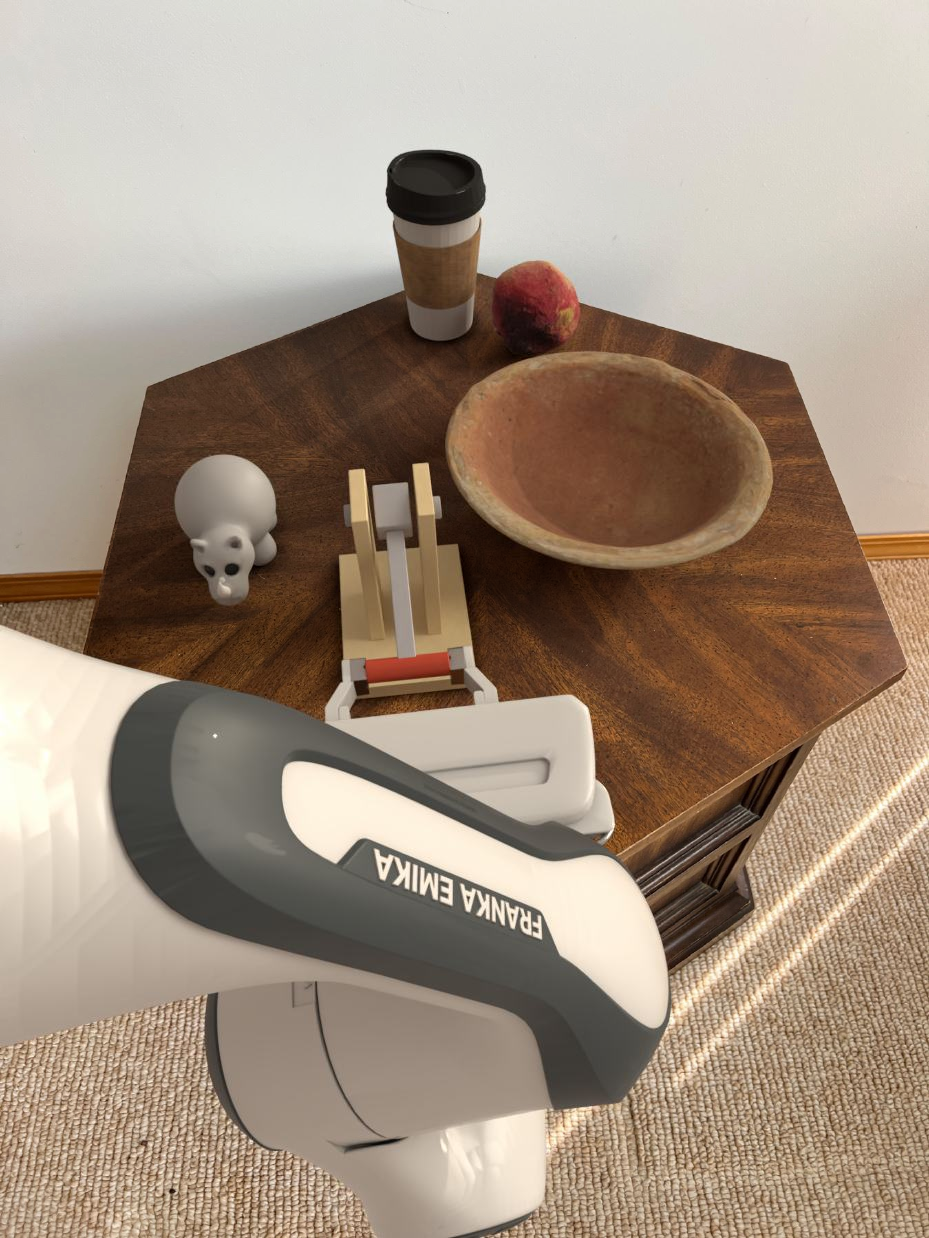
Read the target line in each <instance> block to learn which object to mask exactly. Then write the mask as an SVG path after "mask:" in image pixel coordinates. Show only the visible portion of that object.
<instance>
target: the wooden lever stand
mask: <svg viewBox="0 0 929 1238" xmlns="http://www.w3.org/2000/svg"><path fill="white" fill-rule="evenodd" d="M411 465H412V478H413V488H414V500H415V513H416V521H417V522H416V524H417V535H418V536H417V537H418V547H410V548H409V547H408V548H405V550H406V560H407V570H408V580H409V590H410V600H411V610H412V620H413V630H414V641H415V651H416V655H420V654H430V653H439V652H447V648H454V647H462V646H471V649H472V655H473V662H474V668H475V667H476V662H475V654H474V649H473V640H472V633H471V627H470V619H469V613H468V612H469V611H468V604H467V599H466V591H465V584H464V577H463V571H462V563H461V556H460V549H459V544H458V543H452V544H440V545H438V544H437V531H436V529H437V528H436V520H440V519H442V517H443V515H442V514H443V513H442V504H441V496H440V495H435V496H433V490H432V489H433V488H432V483H431V474H430V466H429V462H422V463H412V464H411ZM347 474H348V488H349V489H348V490H349V504H343V516H344V524H345V527H346V528H351V530H352V536H353V541H354V547H355V553H348V554H339V555H338V565H339V591H340V611H341V612H340V613H341V634H342V635H341V636H342V638H341V639H342V657H343V658H342V660H346V659H357V658H366V660H370V659H380V658H390V657H397V646H396V635H395V625H394V614H393V604H392V593H391V582H390V572H389V561H388V550H380V551H379V550H378V551H377V549H376V541H375V535H374V526H373V522H372V521H373V520H372V514H371V512H372V511H371V506H370V500H369V499H370V498H369V492H368V485H367V479H366V471H365V469H364V468H358V469H349V470H348V473H347ZM369 689H370V694H368V695H361V696H357V697H356V699H355V700H361V699H362V700H363V699H371V698H373V699H374V698H382V697H392V696H393V697H394V696H400V695H401V696H402V695H411V694H420V693H421V694H422V693H430V692H440V691H441V692H442V691H449V690H458V689H459V690H461V689H468V688H467V687H466V686H465V685H464V684H458V685H451V681H450V675H449V676H440V677H430V678H421V679H411V680H401V681H392V682H382V683H372V684H369Z"/></svg>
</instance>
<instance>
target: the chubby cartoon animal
mask: <svg viewBox="0 0 929 1238" xmlns="http://www.w3.org/2000/svg"><path fill="white" fill-rule="evenodd" d="M276 502H277V501H276V495H275V491H274V488H273V485H272V483H271V481H270V479H269V477H268V476H267V475H266V474H265V473H264V472H263V471H262V469H261V468H260V467H258V466H257V465H256V464H254V463H253V462H252V461H250V460H248V459H246V458H244V457H241V456H237V455H234V454H233V455H232V454H214V455H210V456H207V457H204V458H202V459H200V460H198V461H197V462H195V463H194V464H192V465H191V466H190V467H189V468H188V469H186V471H185V472H184V473H183V475H182V476H181V478H180V479H179V481H178V483H177V486H176V489H175V494H174V511H175V515H176V519H177V522H178V524H179V526H180V528H181V530H182V531H183V532H184V534H185V535H186V536H187V537H188V538H189V539H190V540H189V543H190V546H191V548H192V549H193V551H192V553H193V555H192V556H193V557H192V558H193V563H194V567H195V568H196V570H197V571H198V572H199V574H201V575H202V576H203V577H204V578H205V580H206V581H207V583H208V589H209V594H210V596H211V598H212V599H213V601H215V602H216V603H218V605H219V604H220V605H222V606H225V607H233V606H236V605H239V604H241V603H242V602H243V601H245V599H246V598H247V596H248V594H249V590H250V585H249V574H250V572H251V571H252V568H253V566H258V567H260V566H265V565H267V564H268V563H270V562H271V561H272V560H273V559H274V558H275V557H276V555H277V544H276V542H275V540H274V538H273V536H272V535H271V534H270V532H271V531H273V529H275V527H276V525H277V523H278V516H277V513H276V511H277V503H276Z"/></svg>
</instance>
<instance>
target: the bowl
mask: <svg viewBox="0 0 929 1238" xmlns="http://www.w3.org/2000/svg"><path fill="white" fill-rule="evenodd" d="M444 443H445V446H444V447H445V457H446V462H447V465H448V469H449V472H450V475H451V478H452V480H453V482H454V484H455V486H456V488H457V489H458V491H459V493H460V494H461V496H462V497H463V499H464V500H465V501H466V503H467V504H468V505H469V506H470V507H471V508H472V509H473V510H474V511H475V512H476V513H477V514H478V516H479V517H481V518H482V519H483V520H484V521H485V522H486V523H487V524H488V525H490V526H491V527H492V528H494V529H496V530H497V531H498V532H500V533H501V534H503V535H505V536H506V537H508V538H509V539H511V540H512V541H514V542H516V543H518V544H520V545H521V546H524V547H526V548H528V549H531V550H532V551H535V552H537V553H541V554H543V555H545V556H548V557H551V558H554V559H556V560H560V561H563V562H566V563H571V564H575V565H580V566H585V567H591V568H598V569H607V570H633V571H634V570H638V571H639V570H648V569H657V568H663V567H669V566H675V565H680V564H684V563H687V562H690V561H694V560H697V559H700V558H703V557H705V556H708V555H710V554H712V553H716V552H718V551H720V550H722V549H724V548H727V547H729V546H732V545H734V544H736V543H737V542H738V541H740V540H741V539H742V538H743V537H744V536H745V535H746V534H748V533H749V532H750V531H751V530H752V529H753V527H754V526H755V525H756V524H757V522H758V521H759V519H760V518H761V516H762V514H763V513H764V511H765V510H766V508H767V505H768V501H769V499H770V498H771V493H772V489H773V485H774V474H773V473H774V471H773V465H772V460H771V456H770V452H769V450H768V447H767V444H766V442H765V440H764V438H763V436H762V434H761V433H760V431H759V429H758V427H757V425H756V424H755V423H754V422H753V421H752V419H750V418H749V417H748V415H746V414H745V412H744V411H743V410H742V409H741V408H740V407H739V405H738V404H736V402H735V401H733V400H732V399H731V398H730V397H729V396H727V395H726V394H725V393H723V392H722V391H720V390H719V389H717V388H716V387H714V386H713V385H711V384H710V383H708V382H706V381H704V380H703V379H701V378H699V377H697V376H695V375H692V374H691V373H689V372H688V371H684V370H682V369H679V368H676V367H675V366H672V365H670V364H669V363H667V362H666V361H663V360H660V359H657V358H653V357H647V356H646V357H645V356H640V355H635V354H632V353H618V352H607V351H606V352H605V351H593V350H585V351H580V350H579V351H563V352H557V353H556V352H555V353H549V354H548V353H547V354H542V355H538V356H533V357H530V358H526V359H523V360H520V361H518V362H514V363H512V364H509V365H507V366H505V367H502V368H500V369H498V370H496V371H493V372H492V373H491V374H489V375H488V376H486V377H485V378H483V379H482V380H480V381H479V382H477V383H475V384H473V385H472V386H471V387H470V388H469V389H468V391H467V392H466V393H465V395H464V396H463V397H462V398H461V399H460V401H459V402H458V404H457V405H456V406H455V408H454V410H453V413H452V414H451V416H450V418H449V421H448V424H447V429H446V432H445V439H444Z"/></svg>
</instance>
